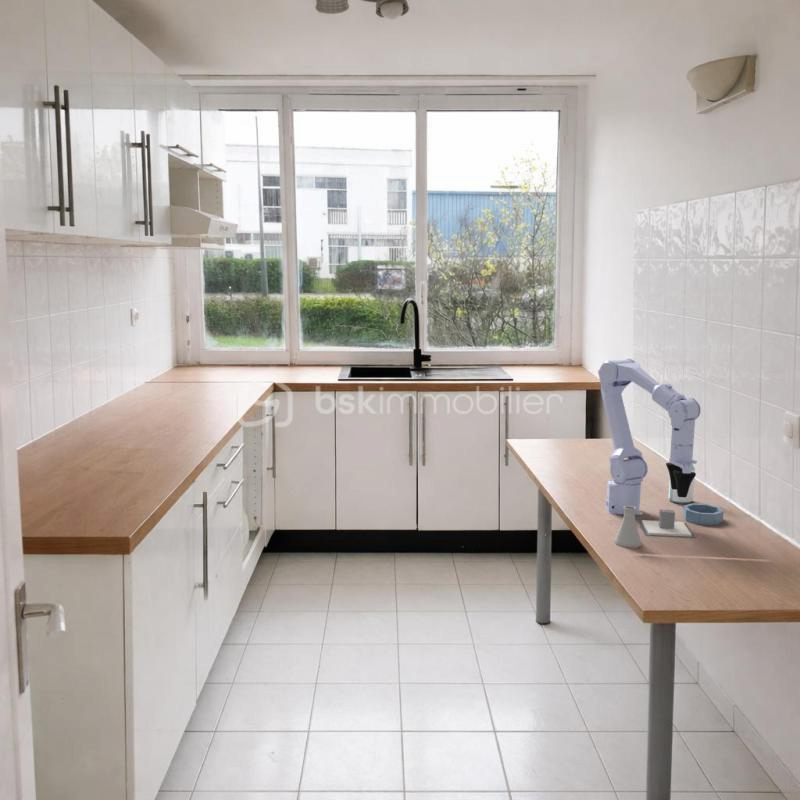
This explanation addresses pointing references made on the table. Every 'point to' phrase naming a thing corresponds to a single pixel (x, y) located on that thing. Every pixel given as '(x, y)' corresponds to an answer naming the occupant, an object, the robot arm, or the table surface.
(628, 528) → the flask
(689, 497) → the can
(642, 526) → the mat
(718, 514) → the bowl
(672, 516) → the lid
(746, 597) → the table surface
